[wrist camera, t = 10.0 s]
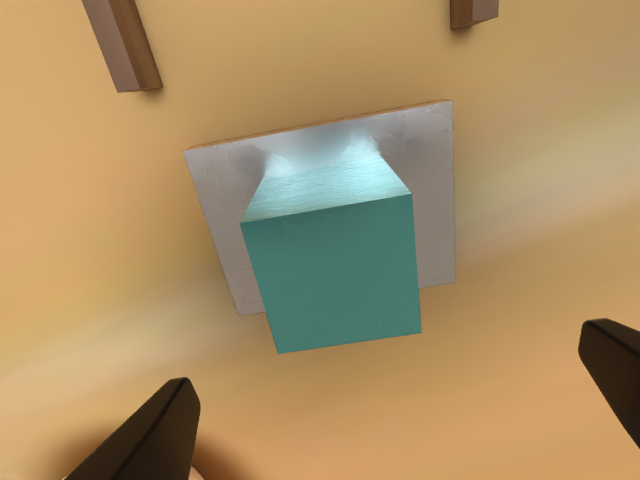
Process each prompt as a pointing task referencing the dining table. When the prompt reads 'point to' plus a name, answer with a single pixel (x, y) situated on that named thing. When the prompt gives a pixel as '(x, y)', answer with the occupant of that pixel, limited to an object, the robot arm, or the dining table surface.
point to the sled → (334, 222)
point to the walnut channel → (136, 57)
